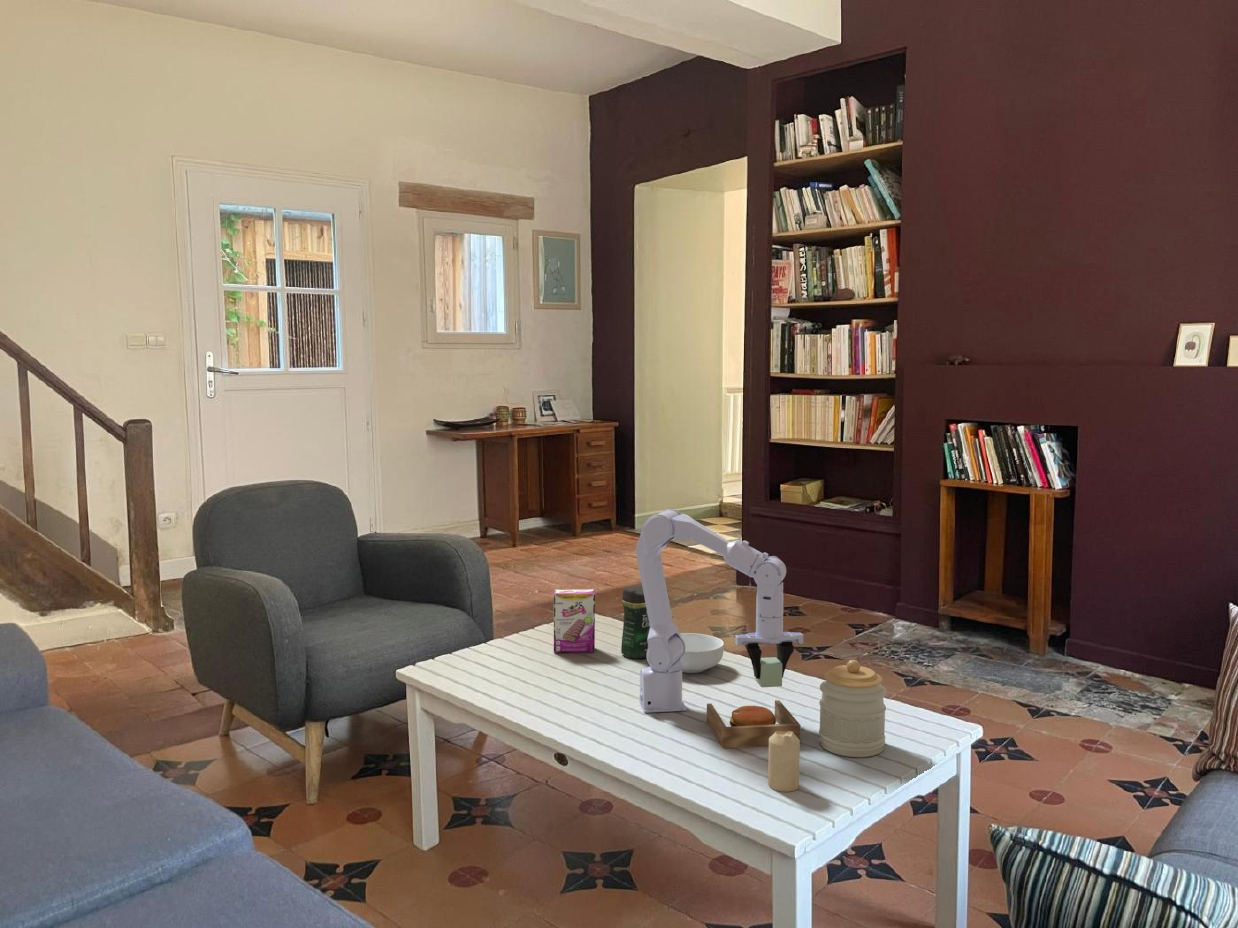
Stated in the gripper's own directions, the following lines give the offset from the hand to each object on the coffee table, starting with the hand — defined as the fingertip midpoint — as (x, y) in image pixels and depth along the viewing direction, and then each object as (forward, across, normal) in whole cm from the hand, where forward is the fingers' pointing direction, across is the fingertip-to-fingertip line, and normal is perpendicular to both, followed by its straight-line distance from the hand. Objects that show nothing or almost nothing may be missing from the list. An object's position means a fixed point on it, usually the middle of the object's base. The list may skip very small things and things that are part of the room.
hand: (768, 676), depth 202 cm
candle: (+10, -7, -32) cm, 34 cm away
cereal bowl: (+10, -9, +38) cm, 40 cm away
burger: (+10, -5, -5) cm, 12 cm away
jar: (+10, +13, -16) cm, 22 cm away
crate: (+10, -5, -6) cm, 13 cm away
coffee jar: (+10, -20, +51) cm, 55 cm away
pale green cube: (+2, 0, 0) cm, 2 cm away
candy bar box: (+10, -37, +57) cm, 68 cm away
